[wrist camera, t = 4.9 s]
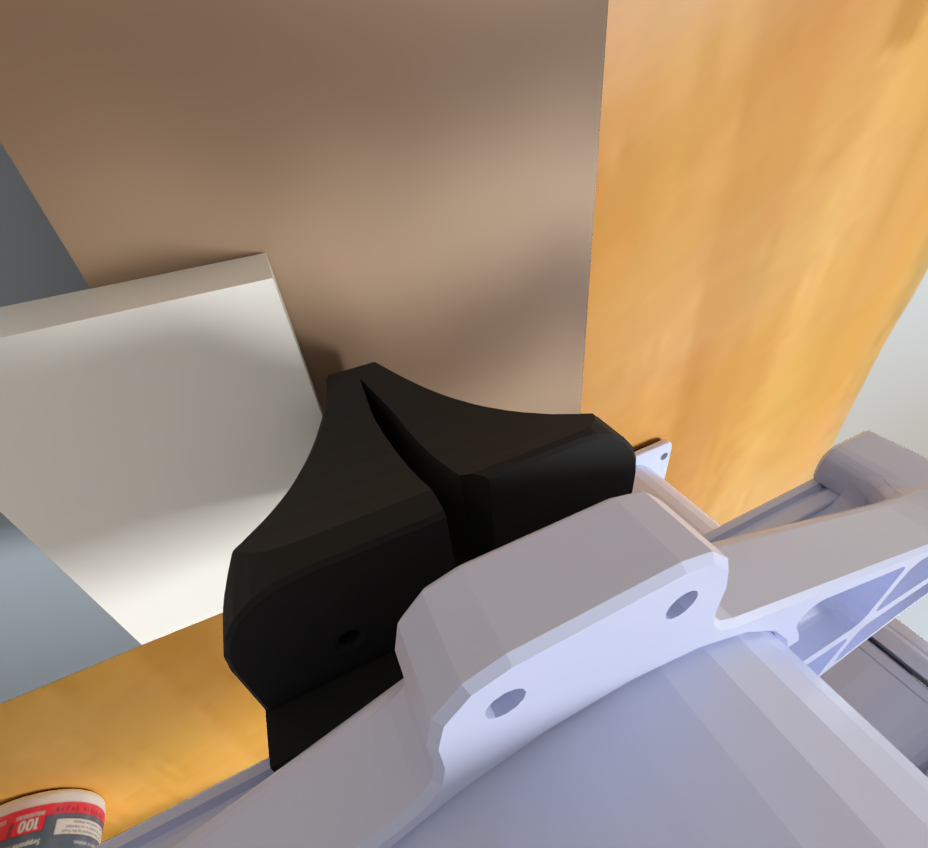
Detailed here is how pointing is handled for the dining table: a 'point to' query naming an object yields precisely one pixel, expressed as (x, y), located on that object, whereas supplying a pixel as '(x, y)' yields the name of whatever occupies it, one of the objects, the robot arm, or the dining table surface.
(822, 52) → the dining table surface
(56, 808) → the pill bottle
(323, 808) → the robot arm
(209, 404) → the tile
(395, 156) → the brown flat block
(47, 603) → the mat
